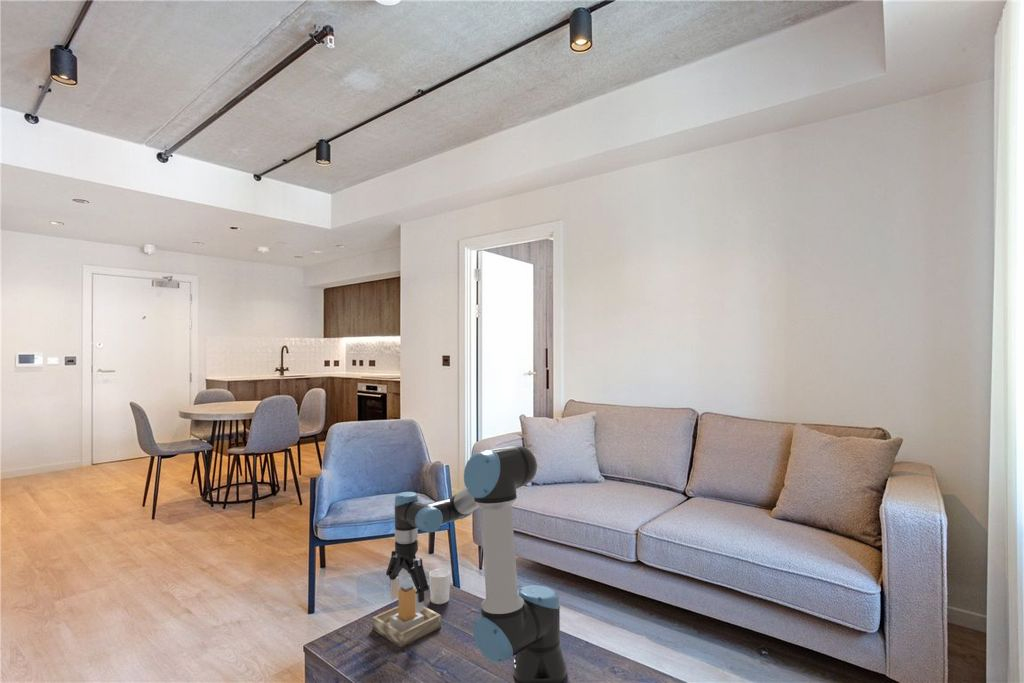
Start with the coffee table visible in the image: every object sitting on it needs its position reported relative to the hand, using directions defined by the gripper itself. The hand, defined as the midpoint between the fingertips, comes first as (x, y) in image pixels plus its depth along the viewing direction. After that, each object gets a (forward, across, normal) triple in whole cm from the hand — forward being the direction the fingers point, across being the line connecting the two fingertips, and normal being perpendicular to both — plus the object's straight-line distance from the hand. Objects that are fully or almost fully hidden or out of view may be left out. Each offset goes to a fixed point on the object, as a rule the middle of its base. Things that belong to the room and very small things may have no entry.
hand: (406, 604), depth 170 cm
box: (+8, 0, 0) cm, 8 cm away
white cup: (+8, +7, -20) cm, 23 cm away
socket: (+8, 0, 0) cm, 8 cm away
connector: (+7, 0, 0) cm, 7 cm away
